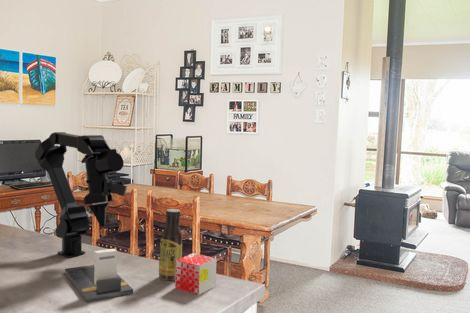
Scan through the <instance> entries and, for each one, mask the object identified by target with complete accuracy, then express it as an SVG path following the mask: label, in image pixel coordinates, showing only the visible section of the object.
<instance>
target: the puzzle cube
mask: <svg viewBox="0 0 470 313" xmlns="http://www.w3.org/2000/svg"><path fill="white" fill-rule="evenodd" d="M174 281H175V285H174V287H175V289H178V290H179V291H180V290H181V291H184V292H186V293H187V292H188V293H191V294H195V295H201V294H203V293H205V292H207V291H209V290H210V289H212V288H214V287H216V284H217V258H216V257H212V256H207V255H203V254H200V253H194V252H193V253H190V254H188V255H184V256H182V258H180V259H177V260H176V280H174Z"/></svg>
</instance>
